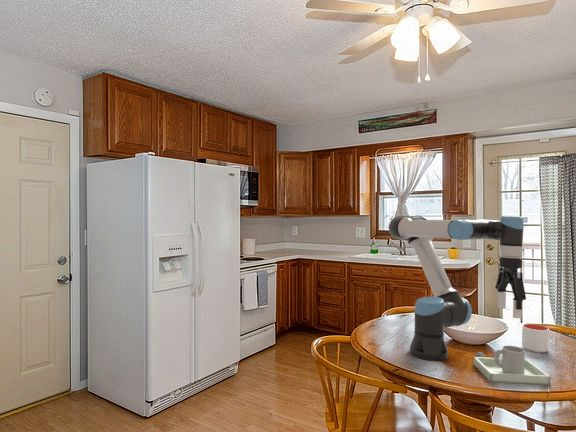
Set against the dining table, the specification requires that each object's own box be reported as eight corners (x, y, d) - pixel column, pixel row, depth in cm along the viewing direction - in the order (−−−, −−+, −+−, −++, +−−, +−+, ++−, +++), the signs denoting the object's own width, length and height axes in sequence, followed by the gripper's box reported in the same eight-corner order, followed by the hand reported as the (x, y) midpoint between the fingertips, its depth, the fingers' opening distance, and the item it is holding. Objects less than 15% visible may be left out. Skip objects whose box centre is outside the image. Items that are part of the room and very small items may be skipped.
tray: (490, 381, 139) (490, 373, 138) (473, 364, 154) (473, 356, 154) (550, 385, 137) (550, 376, 137) (526, 367, 152) (527, 359, 152)
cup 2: (552, 354, 167) (553, 331, 167) (527, 352, 169) (527, 329, 169) (542, 346, 177) (543, 324, 177) (518, 344, 179) (518, 323, 179)
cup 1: (525, 378, 141) (526, 353, 141) (494, 373, 145) (494, 349, 145) (522, 370, 147) (523, 347, 147) (492, 366, 151) (493, 343, 151)
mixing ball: (477, 362, 156) (477, 353, 156) (473, 359, 160) (474, 350, 160) (486, 363, 156) (486, 354, 156) (483, 359, 160) (483, 351, 160)
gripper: (538, 261, 134) (536, 323, 135) (507, 253, 159) (505, 305, 159) (515, 260, 135) (513, 321, 135) (487, 252, 160) (485, 304, 160)
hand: (509, 313), depth 147 cm, fingers open, 13 cm apart
